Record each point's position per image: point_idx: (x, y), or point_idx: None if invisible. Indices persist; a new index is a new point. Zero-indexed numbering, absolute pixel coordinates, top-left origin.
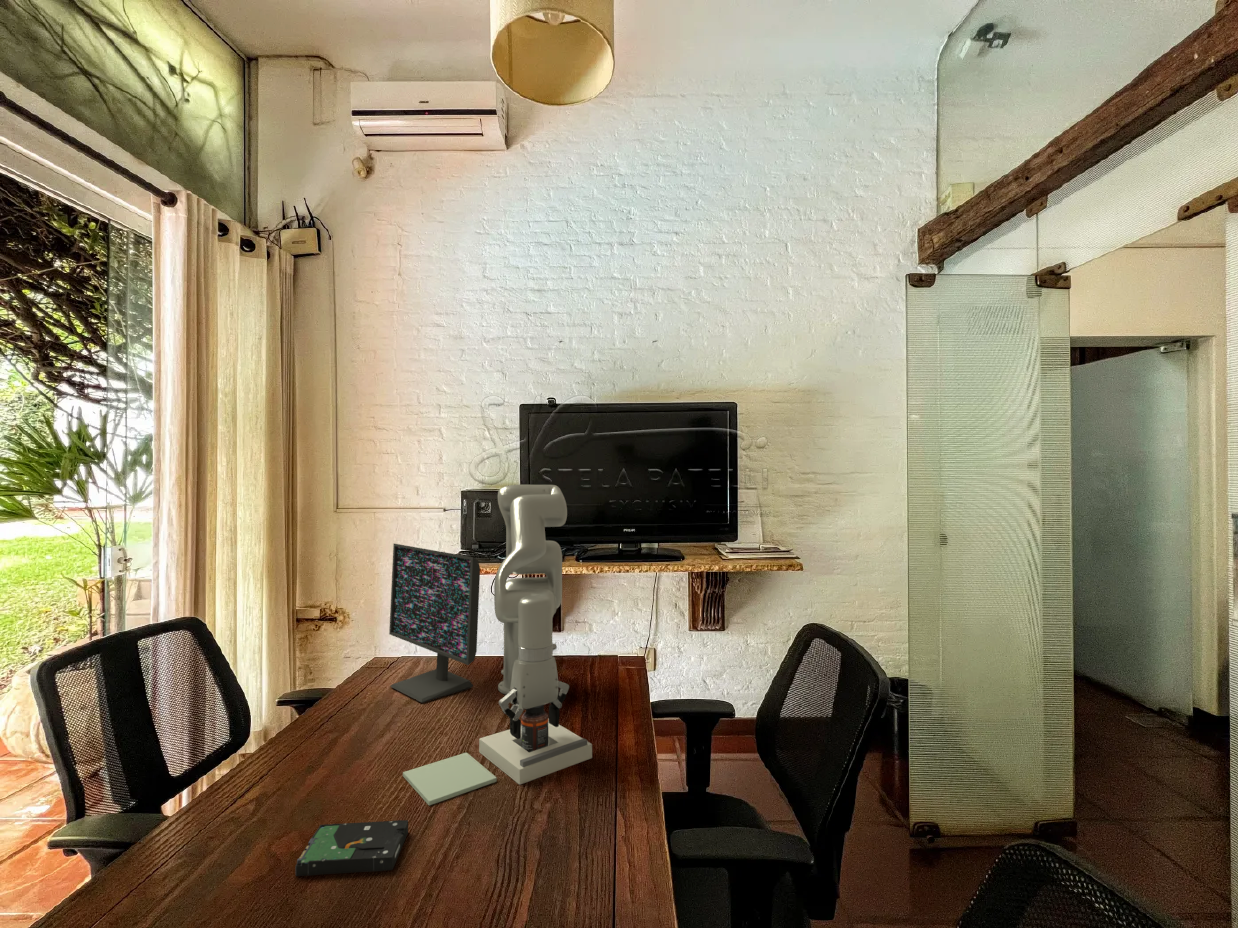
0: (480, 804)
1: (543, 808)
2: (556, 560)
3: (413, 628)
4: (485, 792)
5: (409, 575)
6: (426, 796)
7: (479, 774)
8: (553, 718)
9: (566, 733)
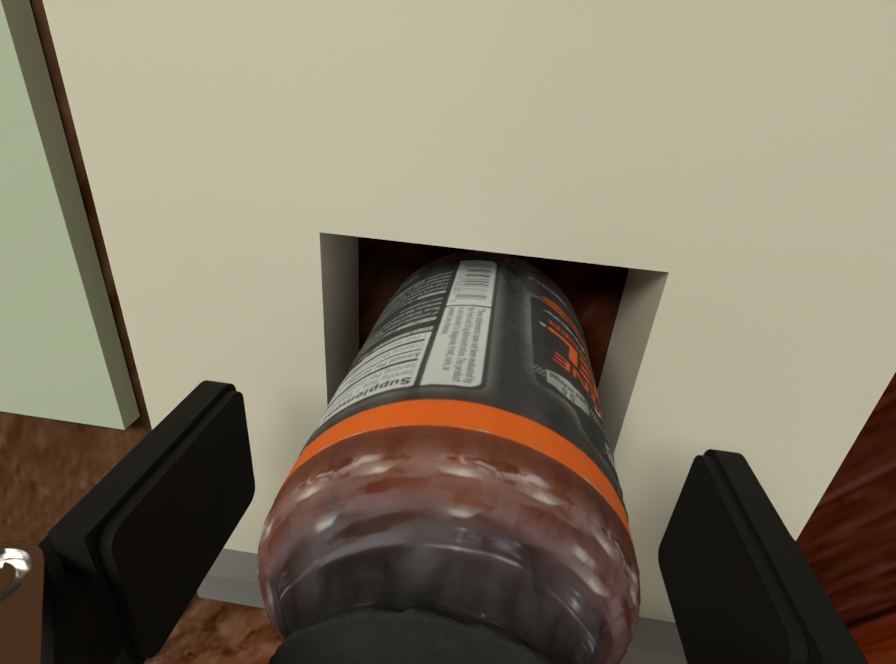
0: (30, 500)
1: (243, 650)
2: None
3: None
4: (66, 450)
5: None
6: None
7: (40, 339)
8: (690, 595)
9: (773, 471)
